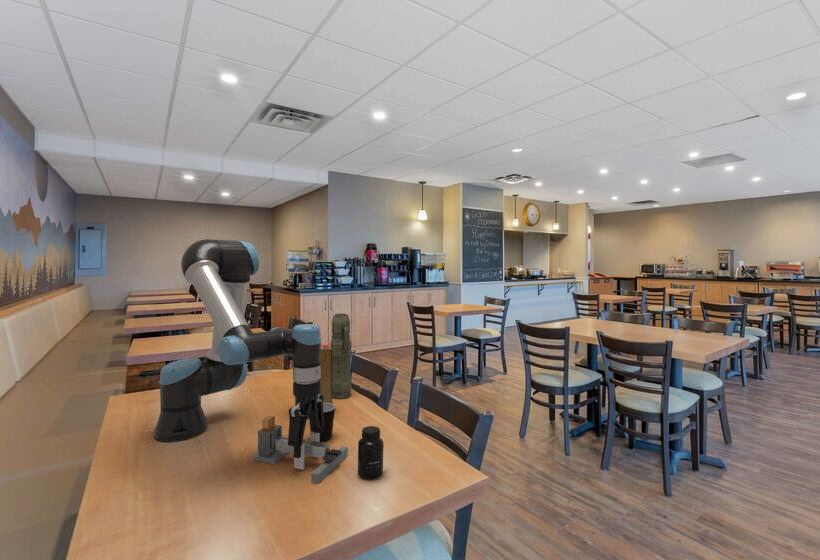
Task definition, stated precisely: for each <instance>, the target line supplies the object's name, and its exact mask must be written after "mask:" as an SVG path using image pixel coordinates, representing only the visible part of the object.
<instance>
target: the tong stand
mask: <svg viewBox="0 0 820 560" xmlns="http://www.w3.org/2000/svg"><path fill="white" fill-rule="evenodd" d="M271 438H272V456H271V457H267V456H262V455H258V453H256V454H254V455H253V457H252V459H253V461H255V462H256V461H257V462H260V463H261V462H262V463H267V464H271V465H274V464H277V463H278V462H279V461H280V460H281V459H283V458H285V456H287V455H289V454H290V452H285V451H279V450H275V449H273V434H272V435H271ZM348 448H349V447H348V446H343V445H341V446H340V447H339V448H338V449H337V450H340V451H342V454H341V455H340V456H338V457H336V459H335V460H334V461H333V462H330V461H324V460H323V462H321V464H320V465H319V466H317V468H315V469H314V470H313V471H312V472H311V474H310V475H311V479H310V480H311V483H312V484H317V485H318V484H320V482H322V481H324V479H325V478H326V477H327V476H328V475H329V474H330V473H332V471H333V470H334V469H335V468H336V467H338V466H339V464H340V463H342V462H343V460H344V459H346V457H348V456H349V451H348V450H349V449H348Z"/></svg>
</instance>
